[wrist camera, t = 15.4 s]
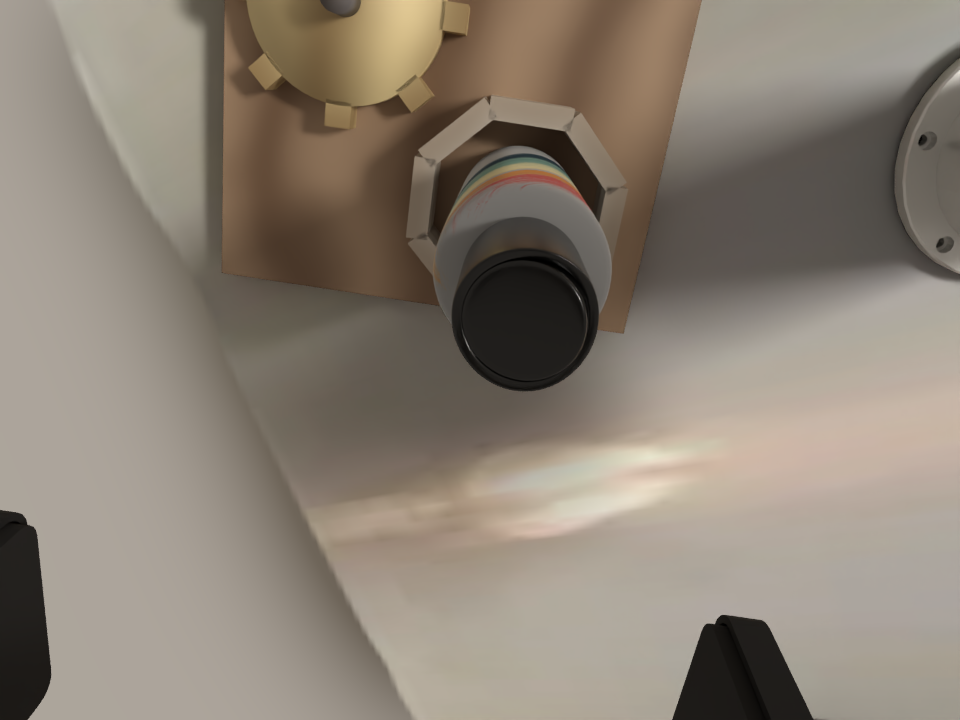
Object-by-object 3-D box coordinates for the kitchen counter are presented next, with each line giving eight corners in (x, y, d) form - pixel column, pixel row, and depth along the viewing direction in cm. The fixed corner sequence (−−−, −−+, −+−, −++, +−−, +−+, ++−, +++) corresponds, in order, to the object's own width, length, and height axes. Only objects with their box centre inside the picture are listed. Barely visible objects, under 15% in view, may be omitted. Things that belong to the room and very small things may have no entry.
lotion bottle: (570, 256, 37) (633, 431, 18) (462, 256, 37) (415, 428, 18) (575, 143, 35) (651, 210, 16) (460, 144, 35) (405, 210, 16)
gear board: (713, -82, 32) (748, -111, 28) (619, 324, 40) (634, 356, 35) (238, -160, 32) (193, -201, 27) (232, 266, 39) (194, 290, 35)
